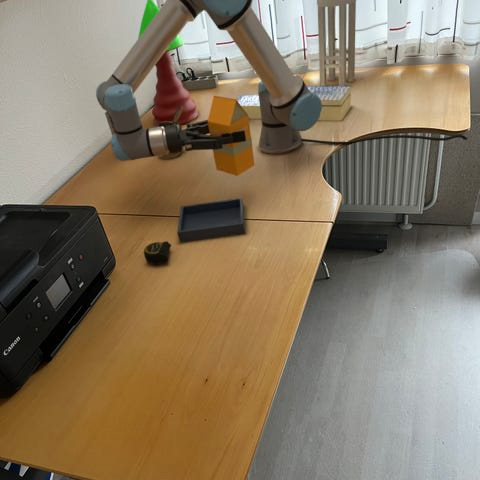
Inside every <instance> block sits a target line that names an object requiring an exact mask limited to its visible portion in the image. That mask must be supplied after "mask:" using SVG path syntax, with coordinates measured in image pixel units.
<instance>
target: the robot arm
mask: <svg viewBox="0 0 480 480" xmlns="http://www.w3.org/2000/svg"><path fill="white" fill-rule="evenodd" d="M253 2H254V0H166V1H164V3H163V4H162V6H161V7H160V8H159V9H160V10H159V11H158V13H157V14H156V15H155V17H154V18H153V19H152V21H151V22H150V24H149V25H148V26H147V28H146V29H145V30H144V32H143V33H142V34H141V36H140V37H139V36H138V37H139V39H138V38H137V40H136V41H135V43H134V44H133V46H131V48H130V50H129V51H128V52H127V54H126V55H125V56H124V58H123V59H122V60H121V62H119V64H118V66H117V67H116V68H115V70H114V72H113V73H112V74H111V75H110V76H109V77H108V79H107V80H106V81H105V80H104V81H102V82H101V83H99V84H98V86H97V87H96V89H95V97H96V100H97V102H98V105H100V107H101V108H102V110H104V111H105V113H106V112H107V113H108V114H109V115H110V116H111V118H112V120H113V123H114V126H115V129H116V134H114V135H112V134H111V138H110V142H111V147H112V152H113V155H114V157H115V158H116V159H117V160H118V161H121V162H124V161H135V160H140V159H145V158H151V157H152V158H153V157H158V156H160V157H162V156H163V155H166V154H168V153H169V152H170V153H171V154H174V153H180V152H182V153H183V152H184V151H185V152H191V151H206V150H207V151H208V150H209V151H211V150H212V151H213V149H222V148H223V146H222V144H223V145H224V144H231V143H232V142H233V143H237V142H244V141H246V136H245V130H244V131H237V132H233V133H224V134H221V136H215V135H210V132H209V127H208V119H205V120H201V121H197V122H191V123H186V128H182V130H181V129H180V127H179V125H177V124H176V125H169V126H166V127H165V128H164V127H163V126H162V127H156V126H155V127H151V128H144V127H143V123H142V120H141V116H140V112H139V108H138V105H137V102H136V100H137V98H136V96H135V94H134V93H136V92H137V90H138V89H139V87H140V86H141V84H142V83H143V82H144V80H145V79H146V78H147V76H148V75H149V74H150V73H151V71H152V70H153V68H155V67H156V66H155V64H156V63H157V62H158V61H159V59H160V58H161V57H162V55H163V54H164V53H165V51H166V50H167V49H168V47H169V46H170V45H171V43H172V42H173V41H174V39H175V38H176V37H177V35H178V34H179V35H180V33H181V32H182V31H183V29H184V28H185V26H186V24H188V23H189V22H194V21H195V19H196V18H197V17H198V16H199V15H200V14H201V13H203V12H206V13H207V15H208V17H209V18H210V19H211V20H212V22H213V23H214V25H215V26H216V28H217V30H220V31H226V32H227V33H228V34H229V37H230V38H231V39H232V41H233V42H234V44H235V45H236V47H237V48H238V49H239V51H240V52H241V54H242V55H243V56H244V59H246V61H247V63H248V64H249V65H250V66H251V68H252V69H253V71H254V72H255V74H256V75H257V77H258V78H259V79H260V81H259V82H258V85H257V95H259V102H260V110H261V119H260V120H261V130H260V135H259V141H258V145H259V150H260V151H261V152H262V153H265V154H270V155H282V154H287V153H291V152H293V151H295V150H298V149H299V148H300V147H301V145H302V143H303V142H305V143H316V144H326V145H351V144H356V143H362V142H366V141H373V140H383V139H384V140H385V139H419V140H427V141H437V142H438V141H439V142H440V141H441V142H443V141H444V142H445V141H449V140H452V139H456V138H460V139H463V140H464V141H466V140H467V141H468V137H467V136H466V135H463V134H454V135H451V136H447V137H435V136H433V137H432V136H425V135H413V134H412V135H411V134H391V135H390V134H389V135H379V136H370V137H365V138H364V137H363V138H359V139H354V140H348V141H349V142H345V141H346V140H345V141H330V140H318V139H309V138H302V134H301V133H300V132H305V131H308V130H310V129H312V128H313V127H314V126H315V125H316V124H317V122H318V121H319V120H318V119H319V117H320V113H321V110H322V103H321V100H320V98H319V97H318V96H317V95H316V94H315V93H313V92H310V90H309V89H308V88H307V86H308V85H307V84H306V82H305V81H304V79H303V78H302V77H301V76H300V75H296V74H293V72H292V71H291V69H290V66H289V65H288V64H287V62H286V60H285V59H284V57H283V56H282V54H281V53H280V51H279V49H278V47H277V46H276V44H275V43H274V41H273V39H272V38H271V36H270V35H269V33H268V32H267V30H266V28H265V27H264V25H263V24H262V22H261V21H260V19H259V17H258V16H257V14H256V13H255V10H254V9H253V7H252V6H253ZM160 157H159V158H160Z"/></svg>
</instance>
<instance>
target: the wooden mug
mask: <svg viewBox="0 0 480 480" xmlns="http://www.w3.org/2000/svg"><path fill="white" fill-rule="evenodd" d="M182 110H183V107H182V105H180V106H179V108H178V109H177V111H176V112H175V114H174V116H173V119H172V122H170V121H165V122H161V123H158V124H157V125H156V124H155V125H156V126H155V128H156V127H162V126H163V127H164V128H165V127H166V126H169V125H176V124H177V125H179V127H180V129H181V130H183V128H182V125H180V124H179V123H178V119H179V117H180V115H181V113H182ZM182 154H183V152H180V153H174V154H171V153H170V152H169V153H168V154H166V155H163V156H162V157H160V156H159V158H160V159H163V160H170V159H175V158H178V157H179V156H181V155H182Z"/></svg>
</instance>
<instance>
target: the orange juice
mask: <svg viewBox="0 0 480 480" xmlns="http://www.w3.org/2000/svg"><path fill="white" fill-rule="evenodd" d="M207 120H208V127H209V132H210V133H209V135H215V136H221V134H224V133H233V132H237V131H244V130H245V136H246V141H244V142H237V143H233V142H232V143H231V144H224V145H223V144H222V146H223V148H222V149H212V153H213V159H214V163H215V170H216V171H220V172H223V173H226V174H230V175H233V176H237V177H238V176H240V175H241V174H243V173H245V172H246V171H248V170H249V169H251V168H252V167H254V166H255V158H254V150H253V140H252V135H251V127H250V126H251V125H250V119H249V118H248V114H247V113H246V112H245V110H244V109H243V108H242V107H241V105H240V104H239V103H238V100H237V99H236V98H230V97H223V96H218V95H213V97H212V102H211V106H210V110H209V114H208V118H207Z"/></svg>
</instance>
